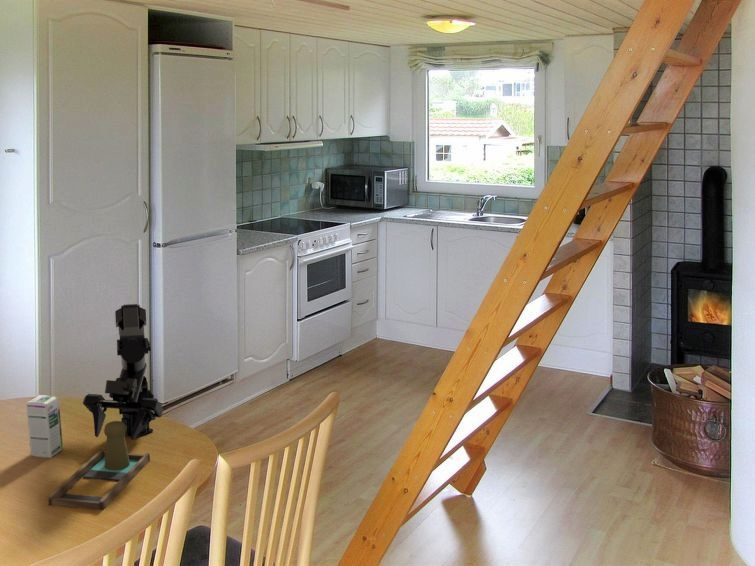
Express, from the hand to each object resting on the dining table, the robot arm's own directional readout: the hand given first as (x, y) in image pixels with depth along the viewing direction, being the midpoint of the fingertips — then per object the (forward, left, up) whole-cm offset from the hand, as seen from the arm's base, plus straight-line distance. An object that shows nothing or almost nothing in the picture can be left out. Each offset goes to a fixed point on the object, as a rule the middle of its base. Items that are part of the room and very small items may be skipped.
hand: (114, 437), depth 218 cm
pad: (-1, -1, -8) cm, 8 cm away
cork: (-1, -1, -8) cm, 8 cm away
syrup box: (+6, -21, -8) cm, 23 cm away
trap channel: (+7, +4, -8) cm, 11 cm away
